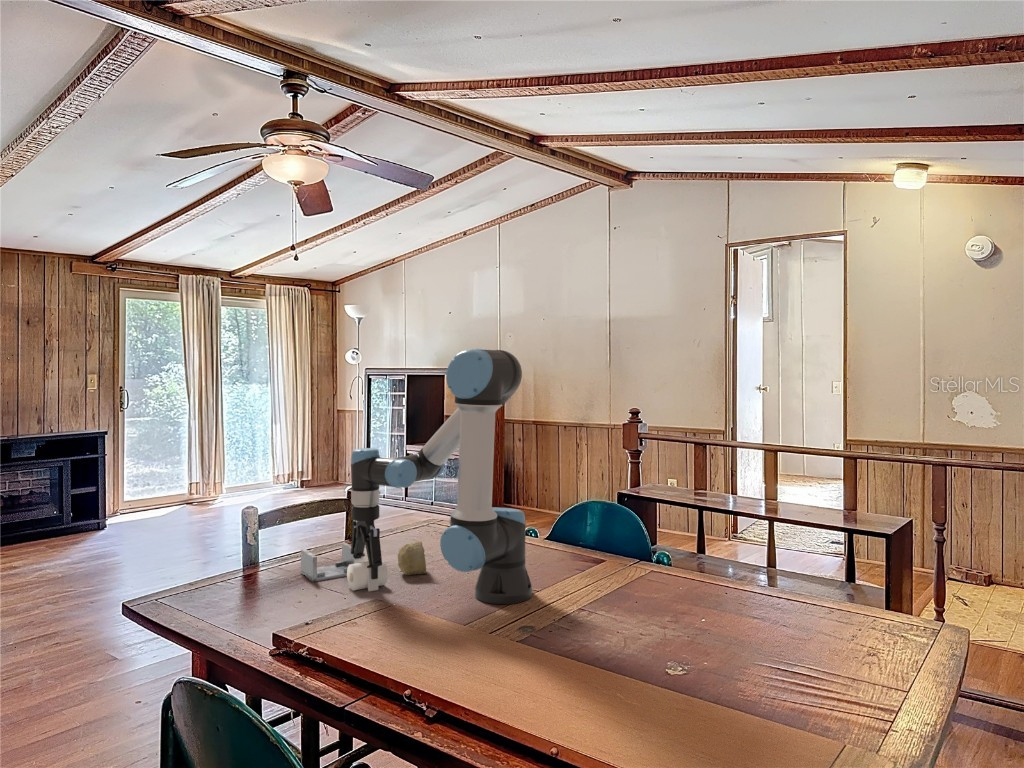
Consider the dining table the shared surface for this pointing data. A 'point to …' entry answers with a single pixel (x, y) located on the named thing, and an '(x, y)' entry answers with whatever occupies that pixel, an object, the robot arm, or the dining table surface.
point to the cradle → (325, 572)
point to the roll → (364, 575)
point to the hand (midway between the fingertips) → (366, 585)
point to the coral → (412, 559)
